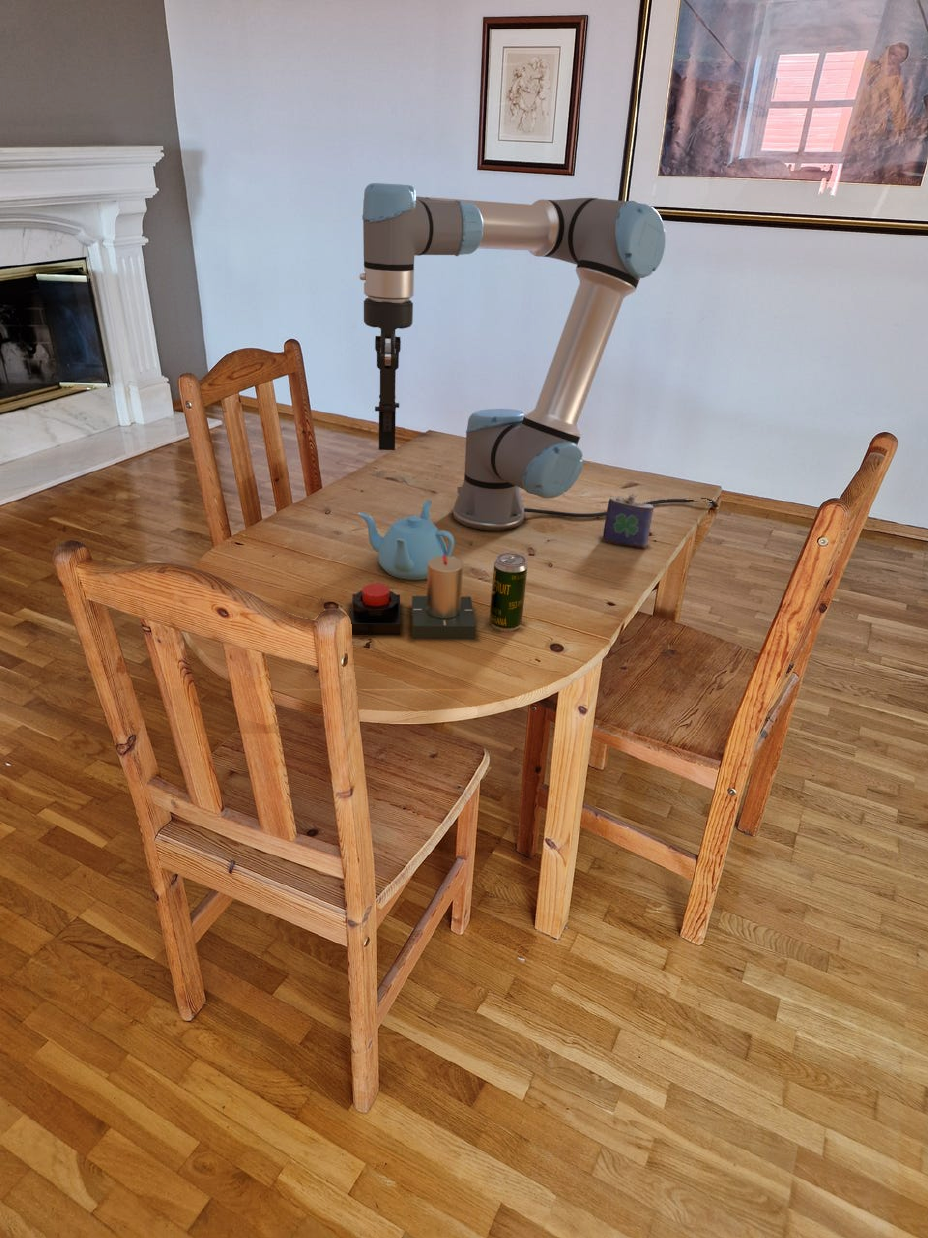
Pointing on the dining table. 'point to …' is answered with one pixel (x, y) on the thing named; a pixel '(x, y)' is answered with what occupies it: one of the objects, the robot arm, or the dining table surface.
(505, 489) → the robot arm
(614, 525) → the flask
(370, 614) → the button box
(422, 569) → the teapot
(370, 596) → the button
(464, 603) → the block
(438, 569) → the tan upright cylinder
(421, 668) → the dining table surface
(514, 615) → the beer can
